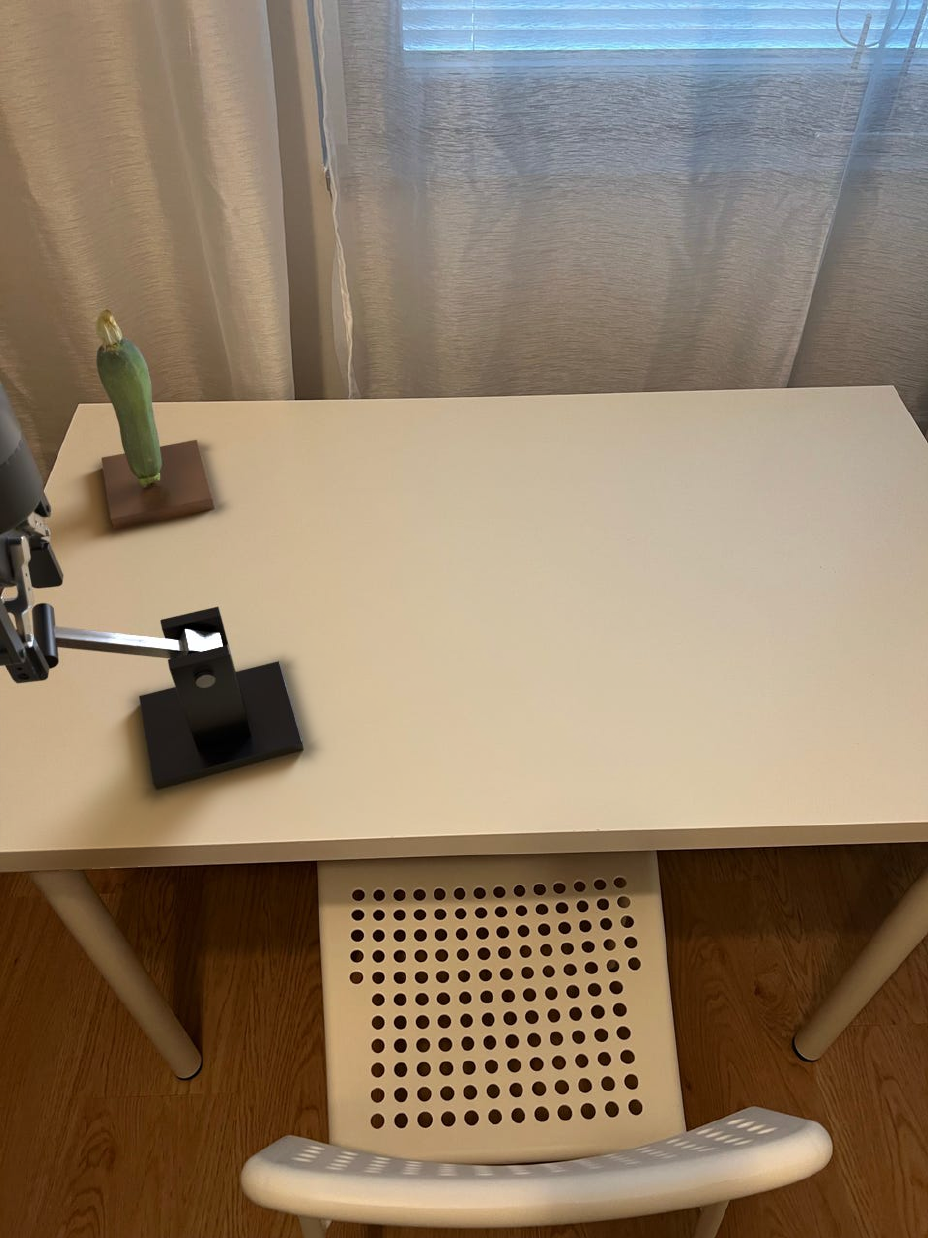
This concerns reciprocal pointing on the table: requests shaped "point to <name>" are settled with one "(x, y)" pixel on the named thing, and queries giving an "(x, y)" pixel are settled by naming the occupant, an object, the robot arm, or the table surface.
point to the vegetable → (129, 398)
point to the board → (158, 487)
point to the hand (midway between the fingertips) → (41, 628)
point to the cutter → (215, 711)
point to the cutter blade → (112, 640)
